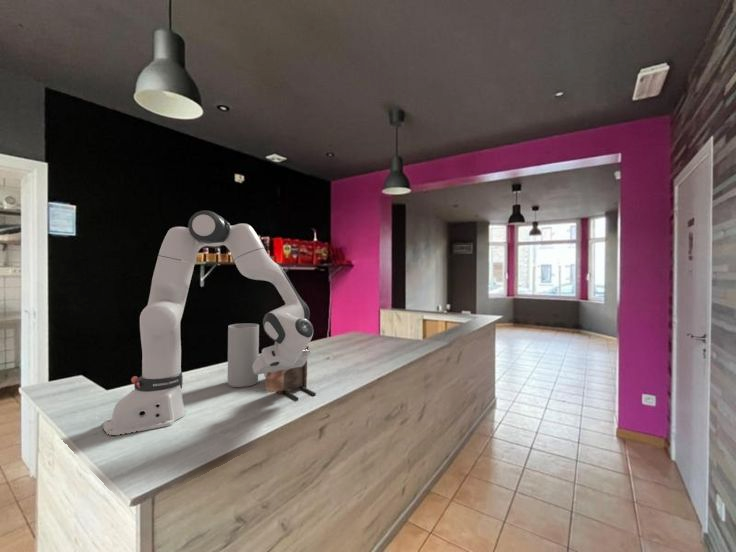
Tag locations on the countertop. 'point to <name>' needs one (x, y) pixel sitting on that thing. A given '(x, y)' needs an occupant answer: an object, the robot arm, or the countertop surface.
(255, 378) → the cylinder vase
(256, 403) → the countertop surface
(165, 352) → the robot arm
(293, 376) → the cubby
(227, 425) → the countertop surface
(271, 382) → the block
